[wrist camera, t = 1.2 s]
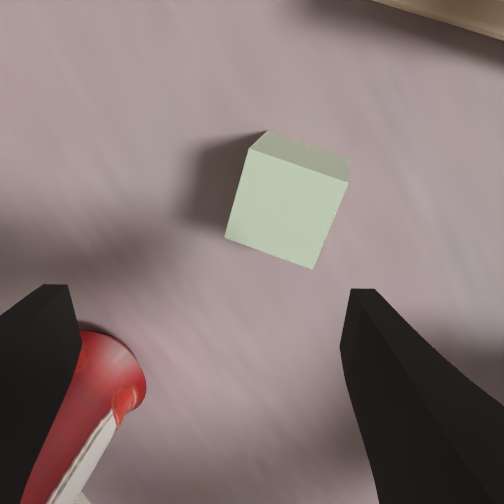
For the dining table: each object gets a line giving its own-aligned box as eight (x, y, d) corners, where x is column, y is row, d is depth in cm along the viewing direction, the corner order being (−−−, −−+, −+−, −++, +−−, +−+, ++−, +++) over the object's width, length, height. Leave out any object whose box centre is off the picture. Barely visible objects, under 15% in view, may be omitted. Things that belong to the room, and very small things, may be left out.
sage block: (350, 157, 19) (348, 183, 16) (320, 232, 21) (312, 269, 18) (268, 129, 20) (248, 148, 16) (245, 206, 22) (224, 237, 18)
